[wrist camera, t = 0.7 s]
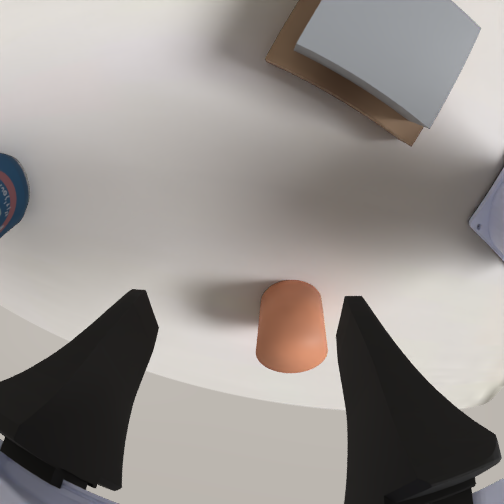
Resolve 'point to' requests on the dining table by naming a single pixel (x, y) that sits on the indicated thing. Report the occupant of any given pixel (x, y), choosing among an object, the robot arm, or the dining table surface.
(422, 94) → the grey top slab
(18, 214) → the soda can
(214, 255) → the dining table surface
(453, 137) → the dining table surface
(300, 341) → the orange round piece
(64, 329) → the dining table surface
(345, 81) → the walnut base slab
